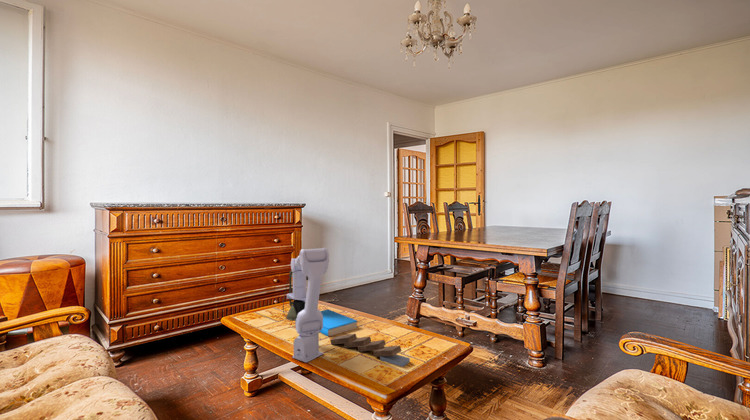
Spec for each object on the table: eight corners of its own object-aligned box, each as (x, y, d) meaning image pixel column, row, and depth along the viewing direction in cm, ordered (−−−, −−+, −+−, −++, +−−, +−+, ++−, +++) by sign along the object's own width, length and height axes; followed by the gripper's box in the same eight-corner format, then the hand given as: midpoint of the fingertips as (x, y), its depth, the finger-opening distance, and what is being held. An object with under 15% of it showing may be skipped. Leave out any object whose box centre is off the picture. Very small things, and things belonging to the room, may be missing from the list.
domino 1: (338, 340, 153) (356, 338, 148) (331, 344, 149) (350, 342, 144) (337, 336, 154) (355, 333, 149) (330, 339, 149) (348, 337, 144)
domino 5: (387, 356, 138) (409, 363, 132) (380, 361, 134) (402, 368, 128) (386, 351, 138) (409, 358, 132) (379, 356, 134) (402, 363, 128)
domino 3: (365, 347, 146) (385, 344, 141) (358, 352, 141) (379, 349, 137) (363, 342, 146) (384, 339, 141) (357, 347, 142) (378, 343, 137)
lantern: (328, 314, 190) (327, 258, 189) (305, 323, 175) (304, 263, 175) (300, 308, 201) (299, 255, 200) (276, 317, 186) (275, 260, 185)
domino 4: (382, 351, 140) (401, 351, 134) (373, 356, 136) (393, 355, 130) (380, 346, 140) (400, 345, 134) (372, 351, 136) (392, 350, 130)
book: (328, 309, 188) (357, 319, 169) (328, 317, 188) (357, 328, 169) (299, 316, 176) (327, 328, 158) (299, 324, 176) (328, 337, 158)
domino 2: (351, 343, 150) (371, 341, 145) (345, 348, 145) (364, 345, 141) (350, 339, 150) (370, 336, 145) (343, 343, 146) (363, 340, 141)
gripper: (318, 286, 152) (318, 317, 152) (295, 282, 160) (295, 311, 160) (306, 289, 146) (306, 322, 146) (282, 285, 154) (283, 316, 155)
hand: (299, 317), depth 153 cm, fingers closed
